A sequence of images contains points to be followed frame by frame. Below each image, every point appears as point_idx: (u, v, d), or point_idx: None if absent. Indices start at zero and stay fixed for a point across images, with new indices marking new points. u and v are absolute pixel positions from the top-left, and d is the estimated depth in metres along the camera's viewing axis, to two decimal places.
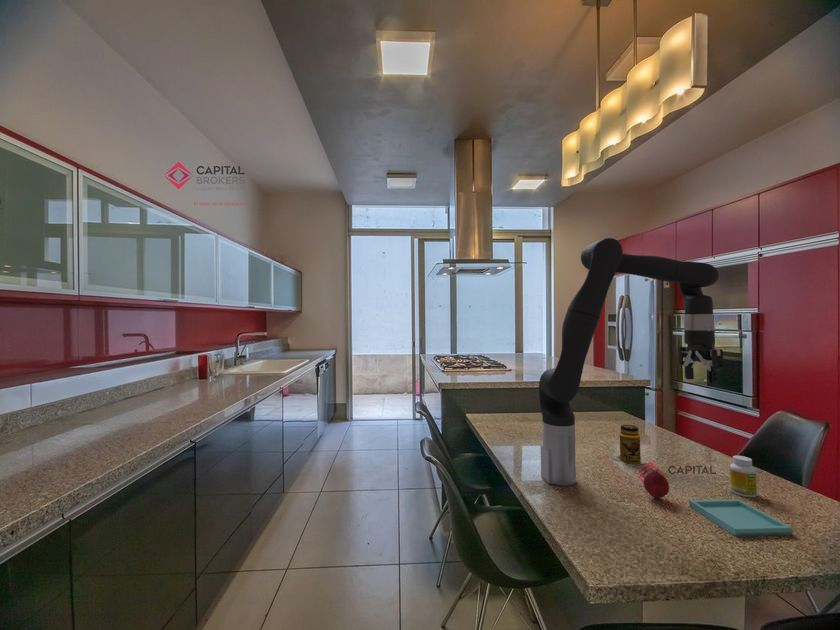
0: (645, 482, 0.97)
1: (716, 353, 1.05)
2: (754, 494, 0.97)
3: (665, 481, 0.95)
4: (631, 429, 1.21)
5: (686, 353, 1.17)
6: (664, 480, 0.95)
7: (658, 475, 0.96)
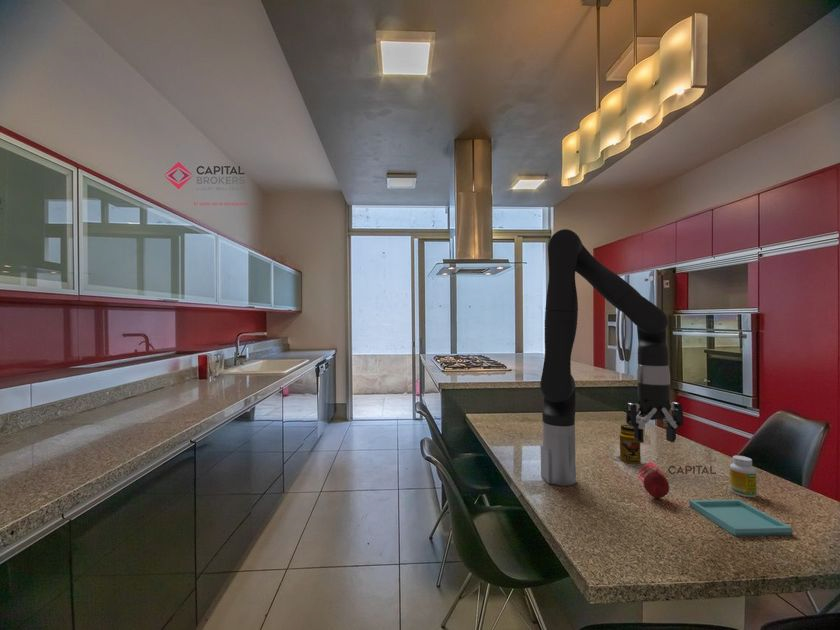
0: (645, 482, 0.97)
1: None
2: (754, 494, 0.97)
3: (665, 481, 0.95)
4: (631, 429, 1.21)
5: None
6: (664, 480, 0.95)
7: (658, 475, 0.96)
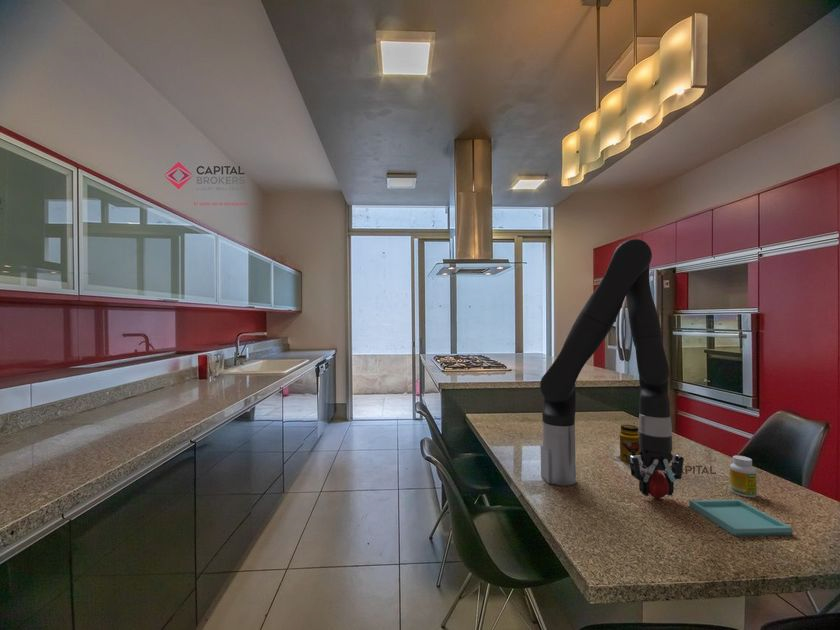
0: None
1: None
2: (754, 494, 0.97)
3: (665, 481, 0.95)
4: (631, 429, 1.21)
5: None
6: (664, 480, 0.95)
7: (658, 475, 0.96)
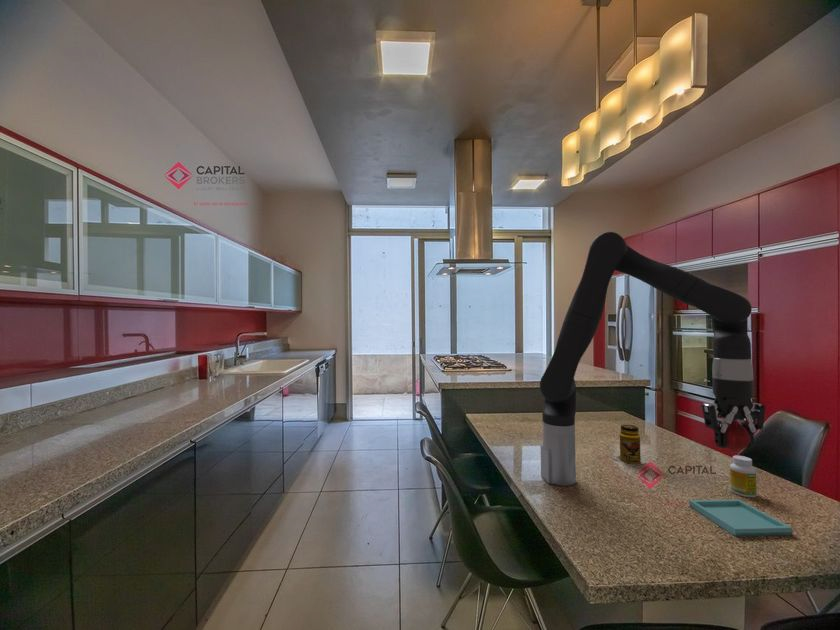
0: None
1: None
2: (754, 494, 0.97)
3: (746, 431, 0.85)
4: (631, 429, 1.21)
5: None
6: (744, 430, 0.85)
7: (737, 425, 0.85)
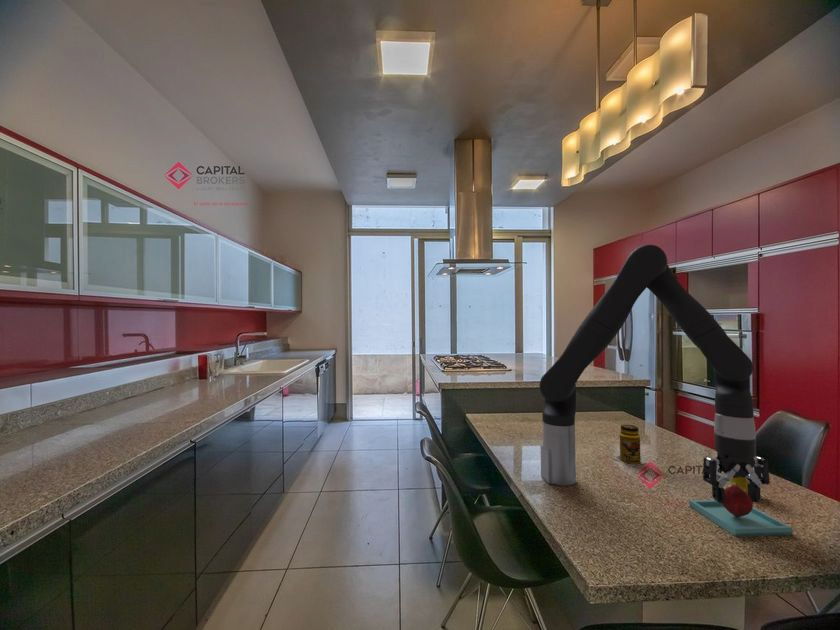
0: (724, 499, 0.86)
1: None
2: None
3: (748, 497, 0.84)
4: (631, 429, 1.21)
5: None
6: (747, 496, 0.84)
7: (739, 491, 0.85)
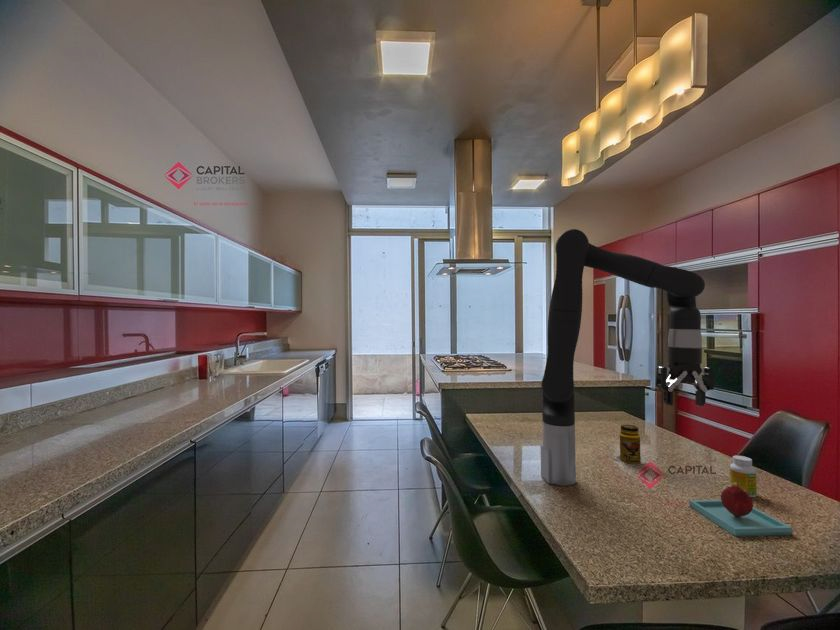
0: (724, 498, 0.86)
1: None
2: (754, 494, 0.97)
3: (748, 497, 0.84)
4: (631, 429, 1.21)
5: None
6: (747, 496, 0.84)
7: (740, 491, 0.85)
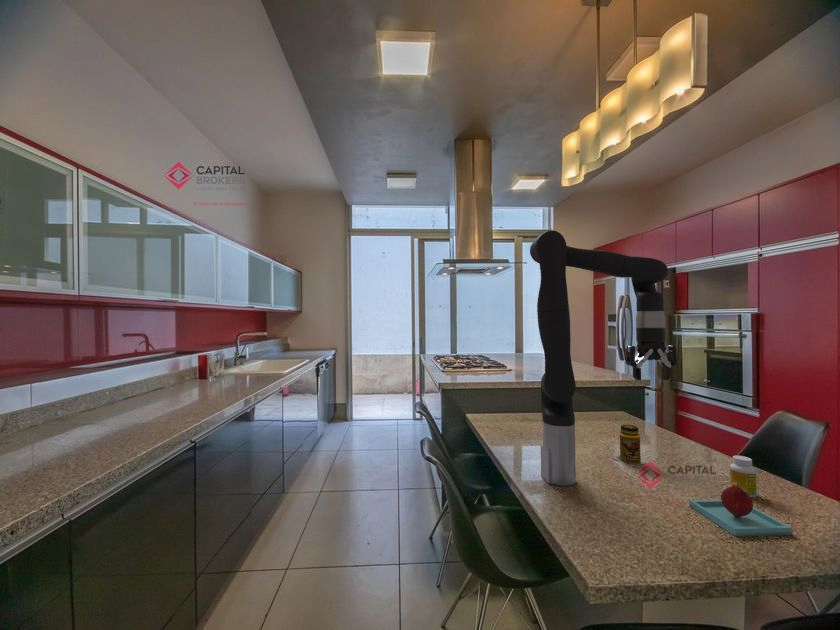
0: (724, 498, 0.86)
1: None
2: (754, 494, 0.97)
3: (748, 498, 0.84)
4: (631, 429, 1.21)
5: None
6: (747, 496, 0.84)
7: (740, 491, 0.85)
